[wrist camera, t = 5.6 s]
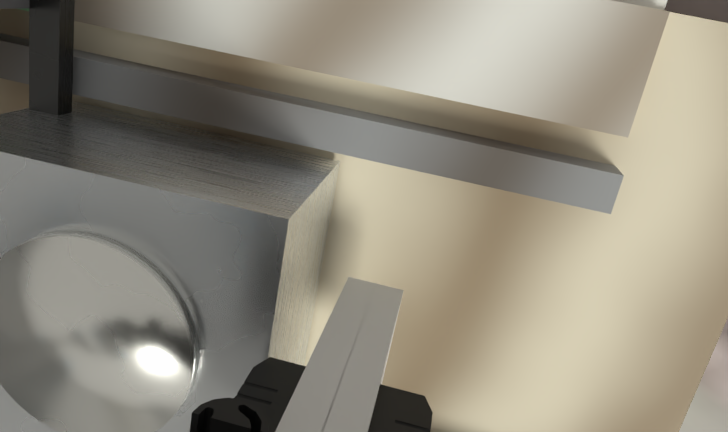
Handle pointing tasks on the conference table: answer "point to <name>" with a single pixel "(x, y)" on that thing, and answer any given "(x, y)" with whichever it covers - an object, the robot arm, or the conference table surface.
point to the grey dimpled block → (143, 256)
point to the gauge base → (470, 179)
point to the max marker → (14, 4)
